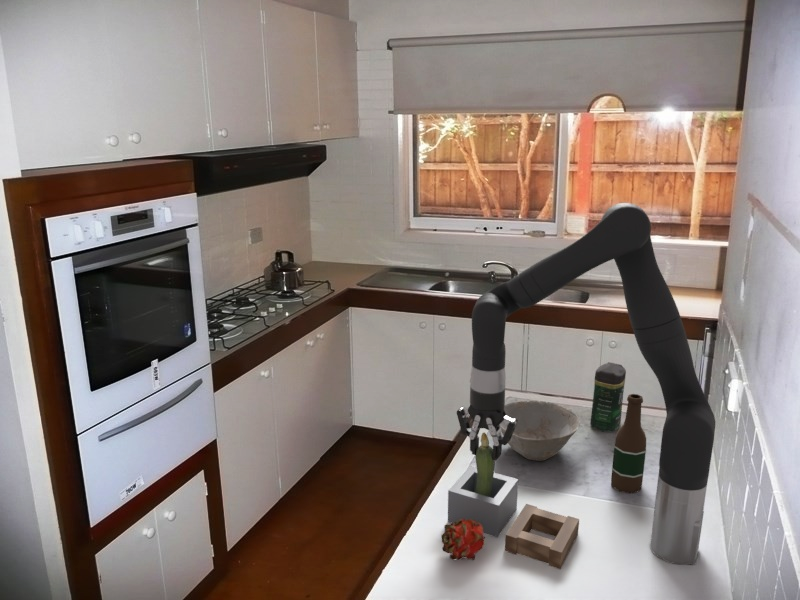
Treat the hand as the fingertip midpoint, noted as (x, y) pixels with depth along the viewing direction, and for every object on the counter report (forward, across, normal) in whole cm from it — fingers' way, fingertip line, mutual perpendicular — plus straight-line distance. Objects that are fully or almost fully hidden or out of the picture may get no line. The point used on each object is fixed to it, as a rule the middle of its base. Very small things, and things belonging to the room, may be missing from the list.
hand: (485, 455), depth 151 cm
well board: (+15, -15, +3) cm, 22 cm away
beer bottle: (+16, -26, -29) cm, 42 cm away
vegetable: (+14, 0, 0) cm, 14 cm away
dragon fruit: (+16, -2, +14) cm, 21 cm away
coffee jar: (+16, -14, -59) cm, 63 cm away
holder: (+15, 0, 0) cm, 15 cm away
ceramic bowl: (+16, -1, -34) cm, 37 cm away
